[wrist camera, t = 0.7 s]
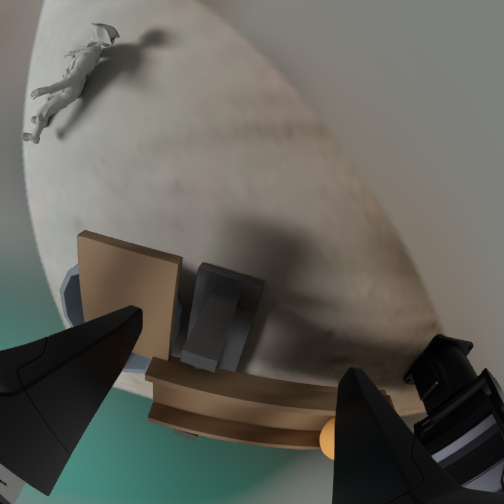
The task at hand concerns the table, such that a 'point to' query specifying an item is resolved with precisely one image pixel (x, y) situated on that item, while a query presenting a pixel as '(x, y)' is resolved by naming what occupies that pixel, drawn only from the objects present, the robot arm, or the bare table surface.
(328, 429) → the ball
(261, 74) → the table surface
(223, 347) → the lever stand
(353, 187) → the table surface
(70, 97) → the soldier figure
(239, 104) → the table surface
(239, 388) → the lever
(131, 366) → the cup
